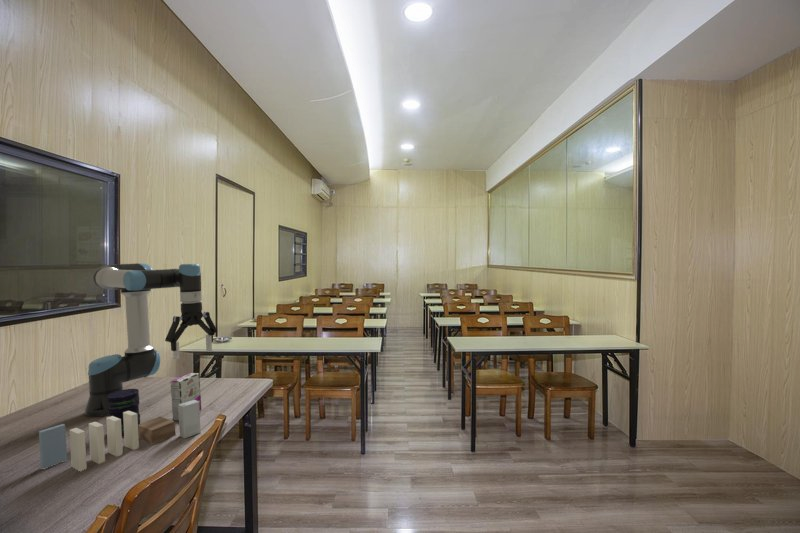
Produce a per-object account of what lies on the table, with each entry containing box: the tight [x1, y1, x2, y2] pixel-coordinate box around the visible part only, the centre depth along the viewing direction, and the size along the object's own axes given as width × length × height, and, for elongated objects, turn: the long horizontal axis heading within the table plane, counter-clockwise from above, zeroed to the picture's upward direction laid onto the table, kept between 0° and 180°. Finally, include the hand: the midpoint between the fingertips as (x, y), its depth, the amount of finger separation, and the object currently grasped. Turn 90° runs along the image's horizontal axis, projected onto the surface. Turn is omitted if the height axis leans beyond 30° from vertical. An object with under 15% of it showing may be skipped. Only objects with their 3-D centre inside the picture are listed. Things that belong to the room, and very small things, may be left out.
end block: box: [138, 416, 176, 445], centre depth 140 cm, size 10×8×5 cm
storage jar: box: [108, 388, 141, 437], centre depth 145 cm, size 10×10×15 cm
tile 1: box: [69, 427, 87, 472], centre depth 120 cm, size 6×2×12 cm, turn 60°
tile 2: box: [88, 421, 106, 465], centre depth 124 cm, size 6×2×12 cm, turn 60°
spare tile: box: [38, 423, 68, 469], centre depth 122 cm, size 6×2×12 cm, turn 150°
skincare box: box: [178, 400, 201, 439], centre depth 140 cm, size 6×4×12 cm
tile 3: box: [105, 416, 124, 457], centre depth 128 cm, size 6×2×12 cm, turn 60°
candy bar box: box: [170, 372, 202, 422], centre depth 159 cm, size 11×5×16 cm, turn 168°
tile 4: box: [123, 411, 140, 451], centre depth 133 cm, size 6×2×12 cm, turn 60°
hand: (193, 354), depth 152 cm, fingers open, 13 cm apart
